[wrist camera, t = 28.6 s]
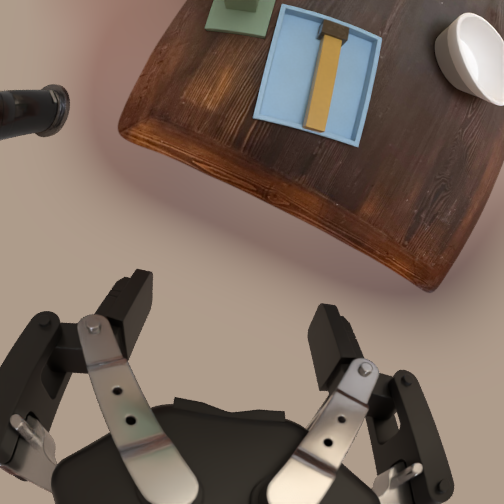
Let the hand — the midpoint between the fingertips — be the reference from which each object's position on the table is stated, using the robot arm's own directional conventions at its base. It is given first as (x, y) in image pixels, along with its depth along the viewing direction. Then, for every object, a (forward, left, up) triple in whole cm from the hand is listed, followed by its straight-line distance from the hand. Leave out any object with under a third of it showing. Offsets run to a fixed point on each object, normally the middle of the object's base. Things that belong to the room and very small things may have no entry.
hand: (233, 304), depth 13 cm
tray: (+8, +20, -36) cm, 42 cm away
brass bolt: (+8, +19, -34) cm, 40 cm away
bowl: (+37, +38, -36) cm, 64 cm away
